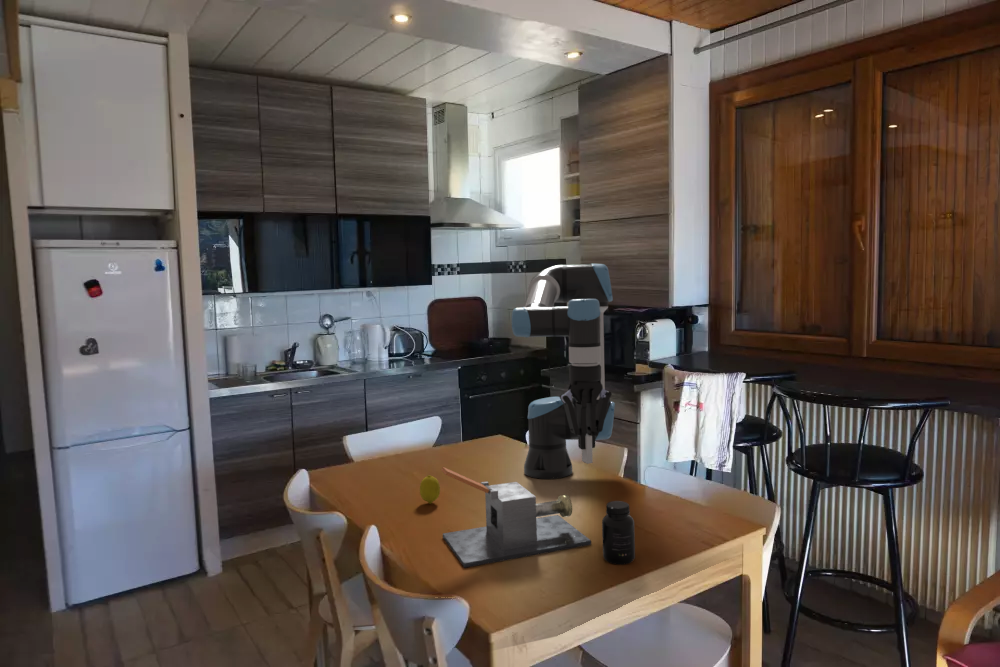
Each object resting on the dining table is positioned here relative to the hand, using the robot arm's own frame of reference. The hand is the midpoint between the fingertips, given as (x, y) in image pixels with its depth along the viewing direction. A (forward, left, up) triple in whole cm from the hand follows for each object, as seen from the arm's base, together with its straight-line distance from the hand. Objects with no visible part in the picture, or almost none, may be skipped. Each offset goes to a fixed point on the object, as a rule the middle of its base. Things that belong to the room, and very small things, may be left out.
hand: (587, 461), depth 157 cm
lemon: (+31, -34, -17) cm, 49 cm away
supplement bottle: (+2, +18, -17) cm, 25 cm away
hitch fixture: (+20, 0, -17) cm, 26 cm away
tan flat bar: (+30, 0, -1) cm, 30 cm away
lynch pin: (+13, 0, -13) cm, 18 cm away
